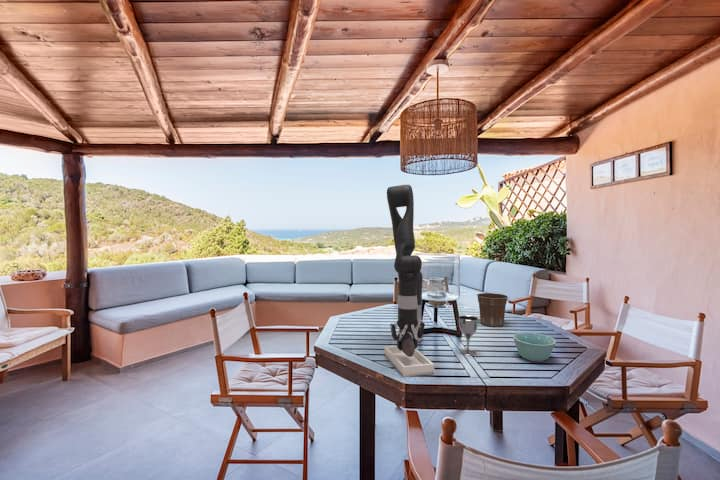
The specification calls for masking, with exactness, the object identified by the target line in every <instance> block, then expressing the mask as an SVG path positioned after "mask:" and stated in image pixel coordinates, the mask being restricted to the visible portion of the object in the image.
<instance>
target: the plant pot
mask: <svg viewBox="0 0 720 480" xmlns="http://www.w3.org/2000/svg"><path fill="white" fill-rule="evenodd" d="M508 296H509V295H506V294H501V293H492V292H491V293H490V292H480V293H477V294H476V297H477V303H478V307H479V319H480V320H479V321H480V324H481V325H484V326H487V327H492V328H496V327H498V328H499V327H503V326H504V324H505V316H506V314H505V313H506V305H507V303H508V298H509V297H508Z"/></svg>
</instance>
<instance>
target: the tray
mask: <svg viewBox="0 0 720 480" xmlns="http://www.w3.org/2000/svg"><path fill="white" fill-rule="evenodd" d="M384 357H386V359H387V360H388V361H389V363H391V364H392V367H394V368H395V370H396V371H398V372H399V374H400V375H401V376H402V378H406V377H407V378H408V377H415V376H417V377H418V376H427V375H435V363H434V362H432V361H431V360H430V359H428V358H427V356H425V355H424V354H423V353H421V351H419V350H418V349H417V348H416V349H415V351H414V354H413V356H412V357H409V356H407V355H406V354H405V353H404V352H403V351H402V350H399V349H398V348H397V345H395V346H384Z"/></svg>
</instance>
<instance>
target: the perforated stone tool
mask: <svg viewBox="0 0 720 480" xmlns="http://www.w3.org/2000/svg"><path fill="white" fill-rule="evenodd" d="M401 341H402V351H403V352H404V353H405V354H406V355H407V356H409V357H412V356H413V354H414V351H415V346H414V342H413V339H412V337H411V335H410V334H409V333H408V332H407V333H405V334H404V336H403V337H402V340H401Z"/></svg>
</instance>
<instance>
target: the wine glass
mask: <svg viewBox="0 0 720 480" xmlns="http://www.w3.org/2000/svg"><path fill="white" fill-rule="evenodd" d="M478 325H479V318H478V317H477V316H475V315H459V316H458V326H459V331H460V332H461V333H462V335H463V336H464V337H465V340H466V349H460V350H459V354H461V355H465V356H475V355H477V354H478V353H477V352H476V351H475V350H473V349H470V341H471V338H472V337H473V336H474V335H475V334H476V332H477V331H478V327H479V326H478Z"/></svg>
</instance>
